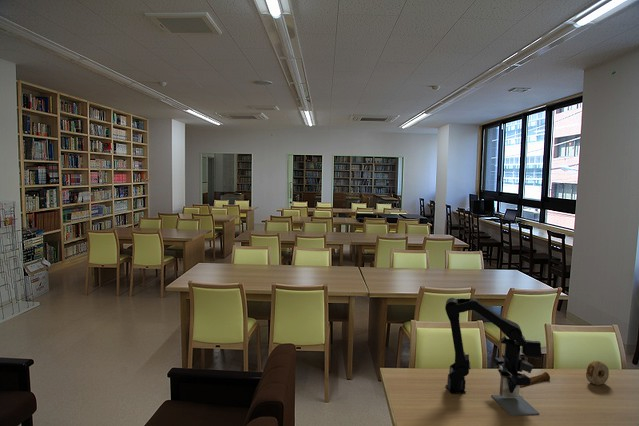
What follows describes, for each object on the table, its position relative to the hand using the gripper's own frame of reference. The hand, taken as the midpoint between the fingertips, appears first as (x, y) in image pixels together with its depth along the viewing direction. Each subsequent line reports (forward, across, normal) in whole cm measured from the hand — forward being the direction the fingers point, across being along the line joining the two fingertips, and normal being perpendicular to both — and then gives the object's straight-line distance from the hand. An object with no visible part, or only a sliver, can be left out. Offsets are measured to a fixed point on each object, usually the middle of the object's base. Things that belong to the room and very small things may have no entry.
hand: (509, 390), depth 170 cm
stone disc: (+4, +10, -48) cm, 49 cm away
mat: (+4, -4, 0) cm, 6 cm away
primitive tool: (+4, +13, -19) cm, 23 cm away
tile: (+2, 0, 0) cm, 2 cm away
